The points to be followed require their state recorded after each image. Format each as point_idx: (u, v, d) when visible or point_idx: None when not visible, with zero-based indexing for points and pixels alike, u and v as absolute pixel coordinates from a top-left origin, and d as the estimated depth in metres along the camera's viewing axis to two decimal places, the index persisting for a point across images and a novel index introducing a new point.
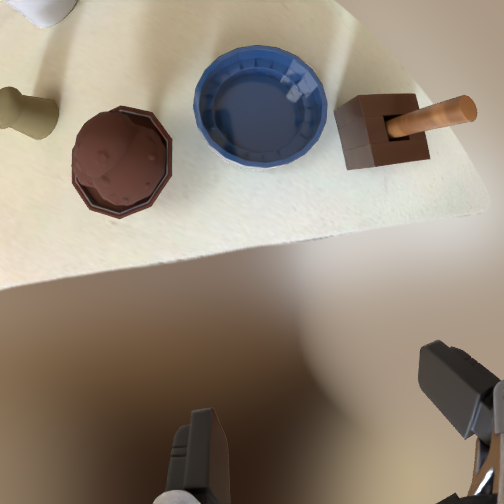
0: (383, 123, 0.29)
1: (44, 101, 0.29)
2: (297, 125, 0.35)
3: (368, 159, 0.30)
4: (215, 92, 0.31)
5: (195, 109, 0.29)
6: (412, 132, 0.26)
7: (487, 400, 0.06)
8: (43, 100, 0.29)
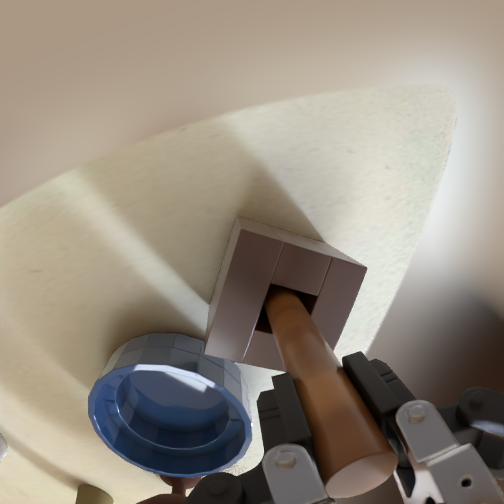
0: (268, 336, 0.18)
1: (83, 497, 0.28)
2: None
3: None
4: (135, 433, 0.24)
5: (150, 471, 0.23)
6: None
7: (394, 419, 0.07)
8: (82, 498, 0.28)
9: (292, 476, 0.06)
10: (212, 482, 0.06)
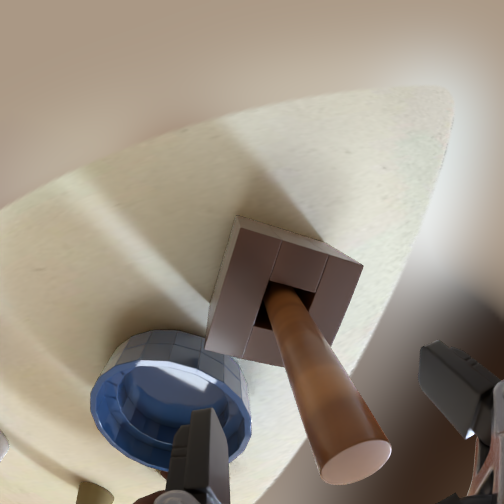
0: (266, 332, 0.19)
1: (84, 494, 0.29)
2: None
3: None
4: (136, 429, 0.25)
5: (151, 467, 0.23)
6: None
7: (487, 400, 0.06)
8: (83, 495, 0.28)
9: None
10: None
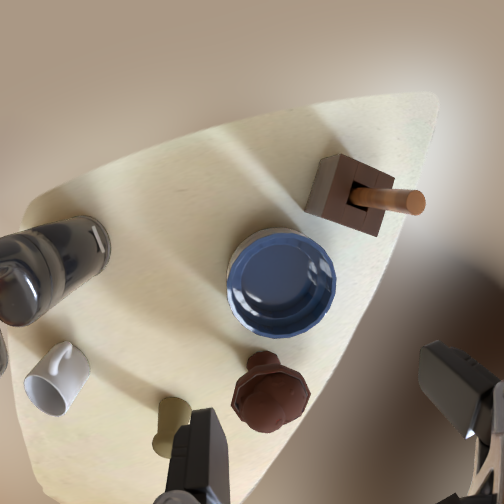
0: (352, 208, 0.35)
1: (167, 407, 0.45)
2: (302, 252, 0.43)
3: None
4: (248, 306, 0.42)
5: (261, 334, 0.40)
6: None
7: (487, 400, 0.06)
8: (167, 409, 0.45)
9: None
10: None
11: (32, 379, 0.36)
